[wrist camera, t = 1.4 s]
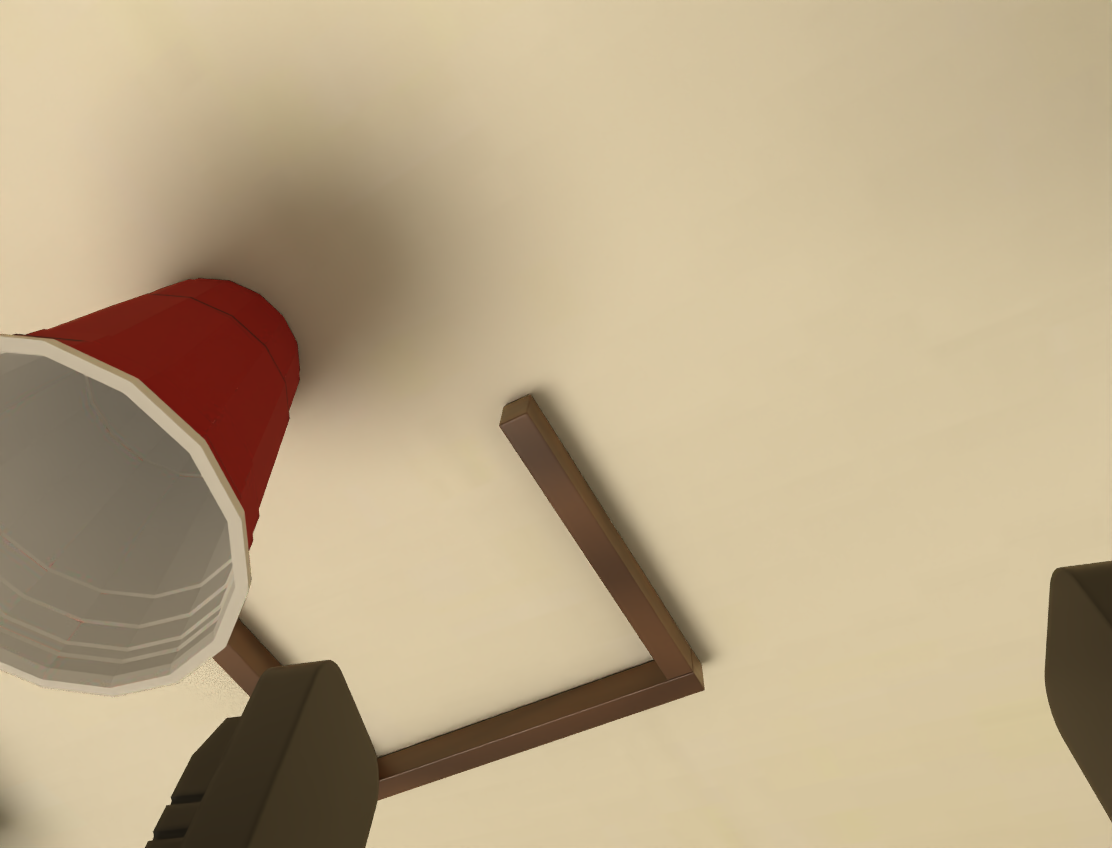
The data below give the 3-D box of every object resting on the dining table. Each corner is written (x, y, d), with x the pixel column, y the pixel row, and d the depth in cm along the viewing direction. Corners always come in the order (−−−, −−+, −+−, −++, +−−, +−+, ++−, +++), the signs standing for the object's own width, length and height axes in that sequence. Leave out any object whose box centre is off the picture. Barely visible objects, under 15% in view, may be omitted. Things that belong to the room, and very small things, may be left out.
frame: (161, 567, 38) (145, 589, 37) (530, 393, 33) (527, 412, 31) (364, 782, 44) (356, 808, 43) (702, 664, 39) (705, 690, 38)
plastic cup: (236, 138, 29) (19, 260, 18) (423, 397, 33) (334, 614, 23) (10, 291, 32) (-283, 468, 22) (208, 508, 36) (42, 744, 26)
